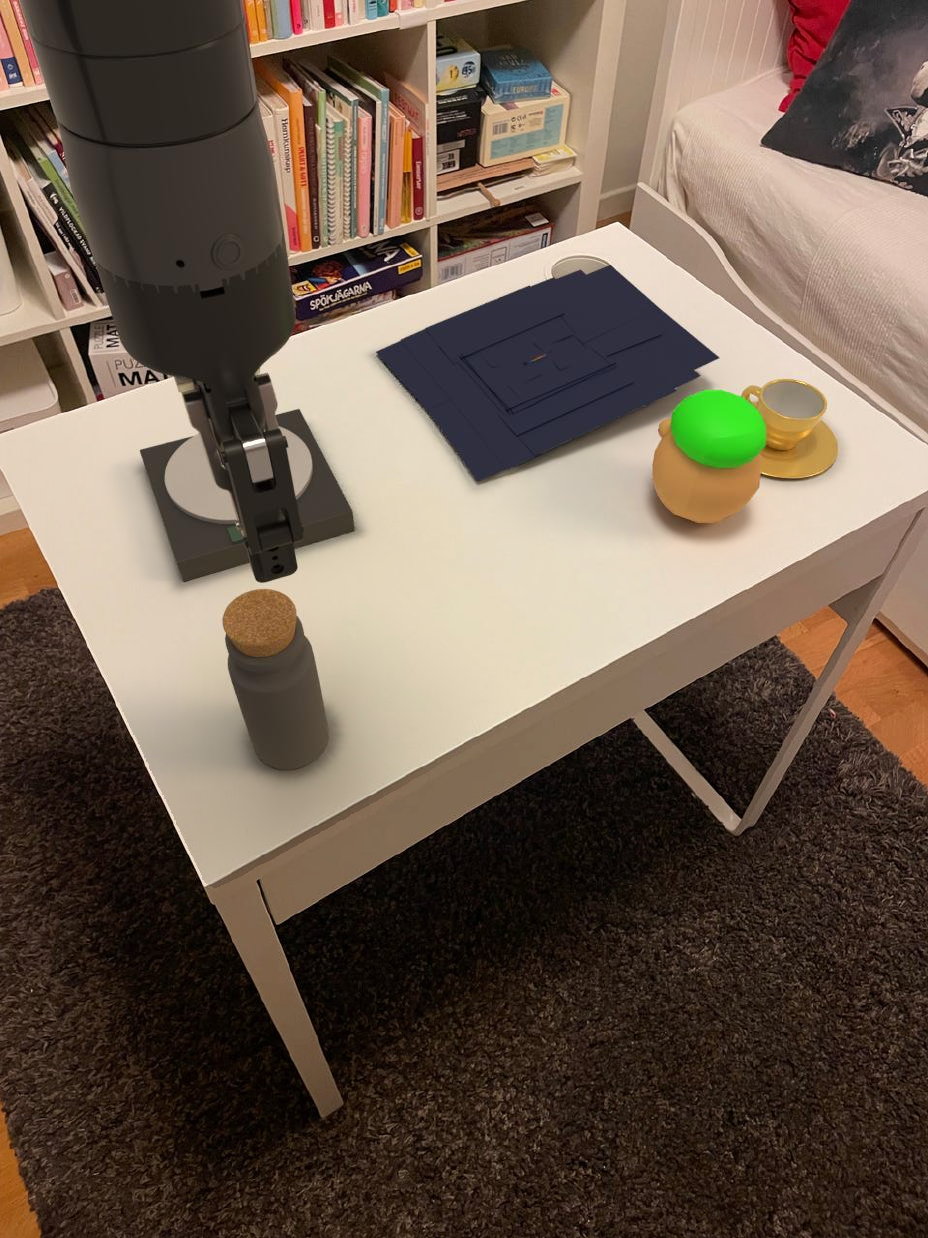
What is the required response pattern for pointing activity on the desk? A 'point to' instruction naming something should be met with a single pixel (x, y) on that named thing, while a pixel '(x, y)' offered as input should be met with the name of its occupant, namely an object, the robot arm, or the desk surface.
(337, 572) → the desk surface
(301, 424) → the scale
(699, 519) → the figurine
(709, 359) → the papers
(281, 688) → the bottle
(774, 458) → the cup
